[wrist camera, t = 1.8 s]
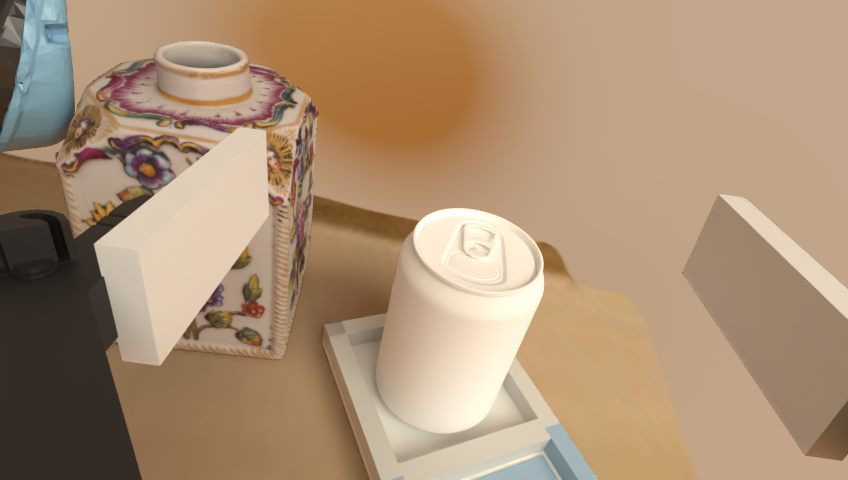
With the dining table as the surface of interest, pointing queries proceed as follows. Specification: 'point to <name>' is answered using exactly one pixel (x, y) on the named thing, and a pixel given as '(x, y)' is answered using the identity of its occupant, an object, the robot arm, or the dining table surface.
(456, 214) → the beverage can
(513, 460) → the divided tray
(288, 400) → the dining table surface
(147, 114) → the decorative jar
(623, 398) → the dining table surface
